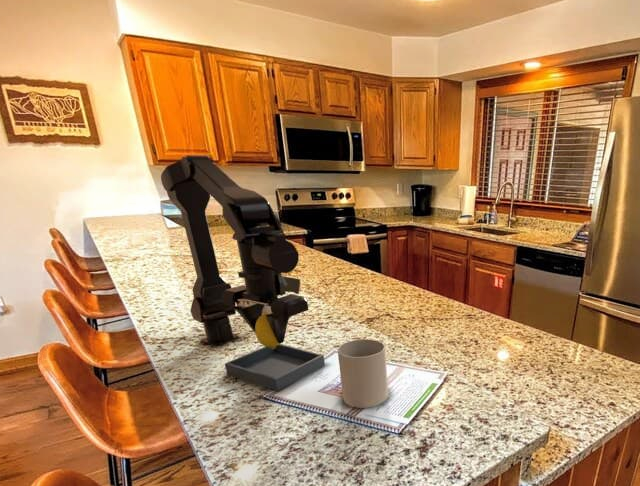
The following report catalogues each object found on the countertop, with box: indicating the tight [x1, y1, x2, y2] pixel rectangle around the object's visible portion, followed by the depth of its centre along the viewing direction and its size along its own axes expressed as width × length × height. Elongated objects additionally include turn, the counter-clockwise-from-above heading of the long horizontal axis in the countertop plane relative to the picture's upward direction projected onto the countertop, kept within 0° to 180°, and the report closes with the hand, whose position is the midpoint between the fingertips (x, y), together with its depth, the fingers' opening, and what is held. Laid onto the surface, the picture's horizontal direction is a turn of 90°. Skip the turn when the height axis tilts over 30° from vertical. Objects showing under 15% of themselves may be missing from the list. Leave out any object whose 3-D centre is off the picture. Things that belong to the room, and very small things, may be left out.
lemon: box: [254, 313, 281, 349], centre depth 88 cm, size 6×6×8 cm
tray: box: [224, 343, 326, 392], centre depth 91 cm, size 15×13×2 cm
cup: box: [337, 338, 389, 409], centre depth 78 cm, size 8×8×10 cm
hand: (271, 340), depth 89 cm, fingers closed on lemon, 5 cm apart
